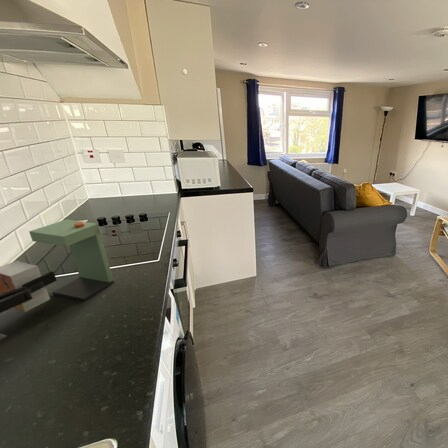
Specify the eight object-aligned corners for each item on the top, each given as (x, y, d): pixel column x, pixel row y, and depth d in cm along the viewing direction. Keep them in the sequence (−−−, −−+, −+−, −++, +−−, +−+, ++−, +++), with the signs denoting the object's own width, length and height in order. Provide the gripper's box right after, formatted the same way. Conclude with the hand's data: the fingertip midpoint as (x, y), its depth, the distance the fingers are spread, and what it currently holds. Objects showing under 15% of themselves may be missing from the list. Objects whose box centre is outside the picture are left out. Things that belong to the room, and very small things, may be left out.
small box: (4, 305, 67) (-12, 270, 63) (31, 293, 72) (17, 259, 68) (25, 312, 65) (9, 276, 61) (51, 299, 70) (37, 265, 66)
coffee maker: (53, 294, 80) (27, 228, 72) (85, 277, 89) (65, 216, 81) (84, 301, 77) (62, 233, 69) (114, 282, 86) (97, 221, 78)
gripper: (-117, 339, 54) (17, 279, 74) (-46, 361, 49) (76, 291, 70) (-139, 309, 51) (7, 256, 71) (-65, 329, 46) (67, 266, 67)
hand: (41, 273), depth 71 cm, fingers closed on small box, 8 cm apart
